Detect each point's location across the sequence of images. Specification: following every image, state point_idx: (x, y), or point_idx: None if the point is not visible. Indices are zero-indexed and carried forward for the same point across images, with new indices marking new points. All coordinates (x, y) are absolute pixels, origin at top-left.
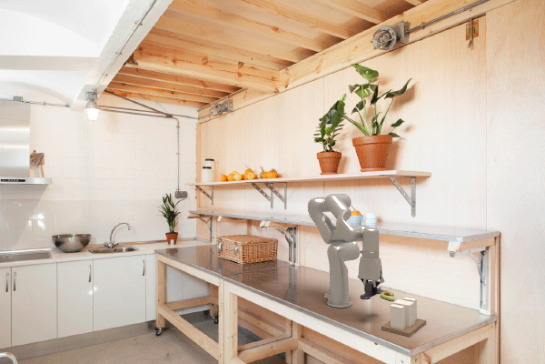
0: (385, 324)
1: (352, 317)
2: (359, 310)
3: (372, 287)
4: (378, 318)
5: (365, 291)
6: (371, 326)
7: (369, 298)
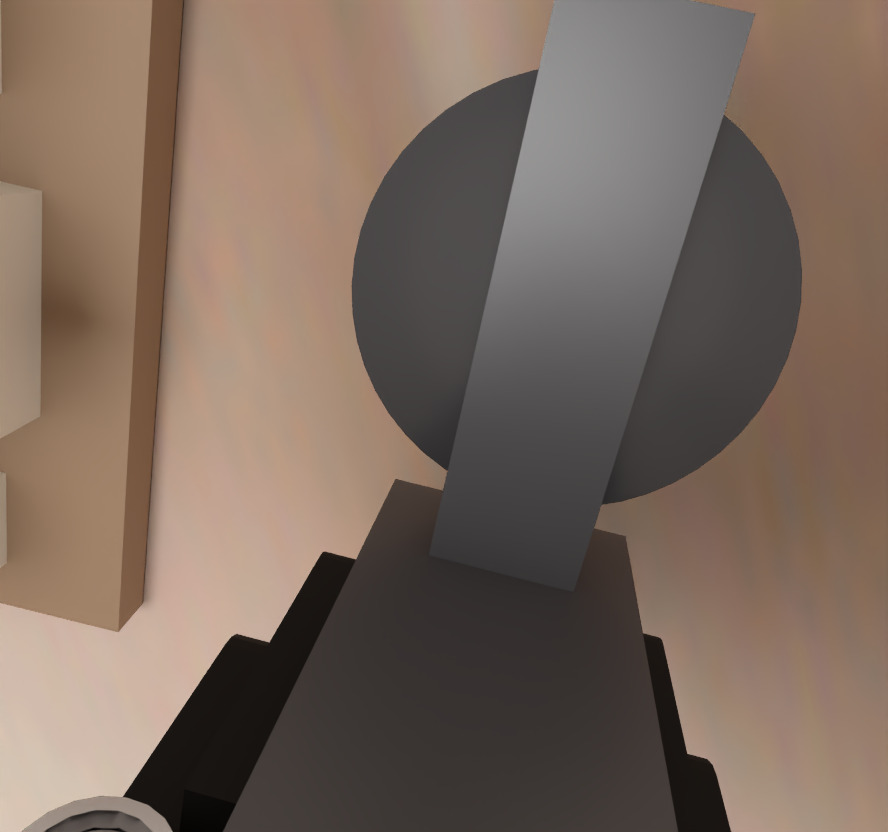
0: (127, 52)
1: (830, 324)
2: (769, 691)
3: (243, 784)
4: (399, 462)
5: (631, 632)
6: (394, 13)
7: (373, 221)
